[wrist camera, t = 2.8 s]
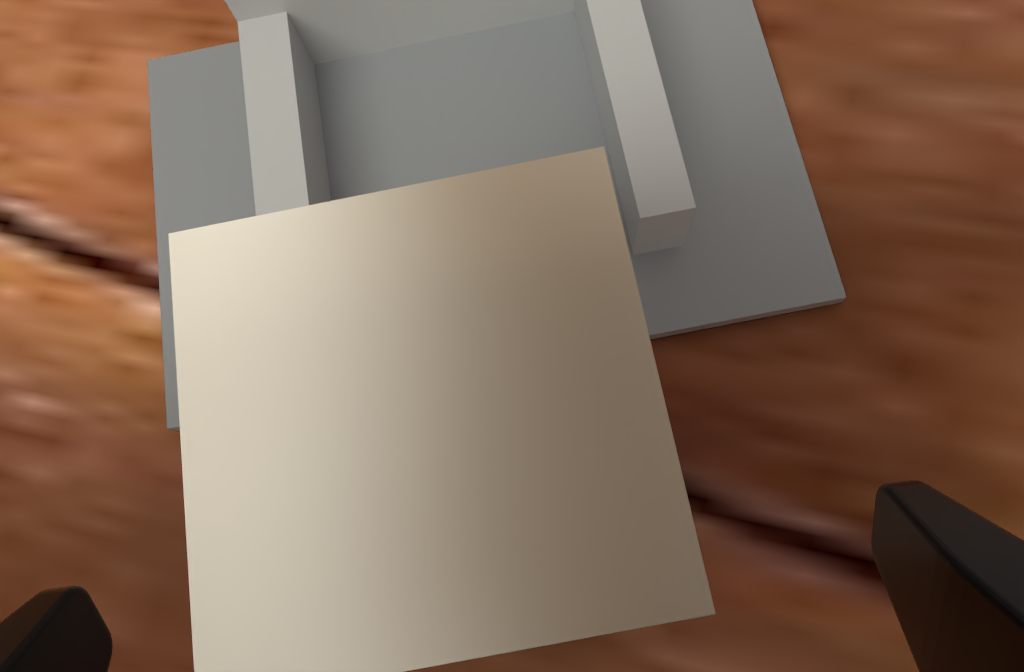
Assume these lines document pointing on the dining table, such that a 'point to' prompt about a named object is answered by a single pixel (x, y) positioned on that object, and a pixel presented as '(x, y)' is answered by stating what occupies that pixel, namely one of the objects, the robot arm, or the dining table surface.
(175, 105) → the keeper bracket
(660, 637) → the dining table surface
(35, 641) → the robot arm
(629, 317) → the link block
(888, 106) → the dining table surface
